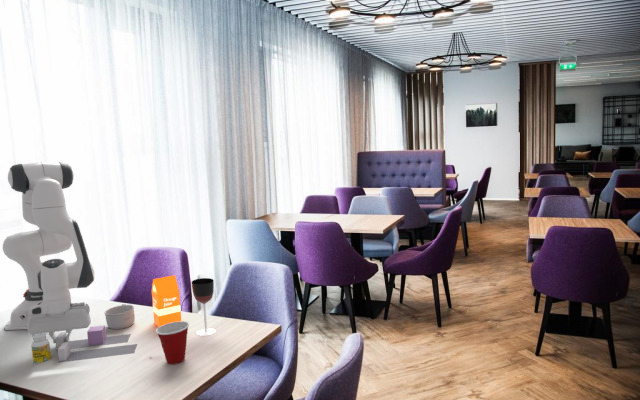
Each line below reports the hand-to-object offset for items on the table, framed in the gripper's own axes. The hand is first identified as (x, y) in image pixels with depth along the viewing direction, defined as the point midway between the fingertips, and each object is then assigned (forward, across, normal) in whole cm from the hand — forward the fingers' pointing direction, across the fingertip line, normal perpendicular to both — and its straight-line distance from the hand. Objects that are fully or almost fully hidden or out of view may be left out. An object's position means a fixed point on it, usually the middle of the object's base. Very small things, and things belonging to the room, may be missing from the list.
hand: (61, 342), depth 178 cm
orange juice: (+3, -36, -12) cm, 38 cm away
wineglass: (+3, -51, 0) cm, 51 cm away
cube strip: (+3, -11, 0) cm, 11 cm away
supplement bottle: (+3, +4, +10) cm, 11 cm away
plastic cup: (+3, -41, +23) cm, 47 cm away
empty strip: (+3, -15, +11) cm, 19 cm away
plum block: (+1, -12, 0) cm, 12 cm away
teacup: (+3, -18, -17) cm, 25 cm away
